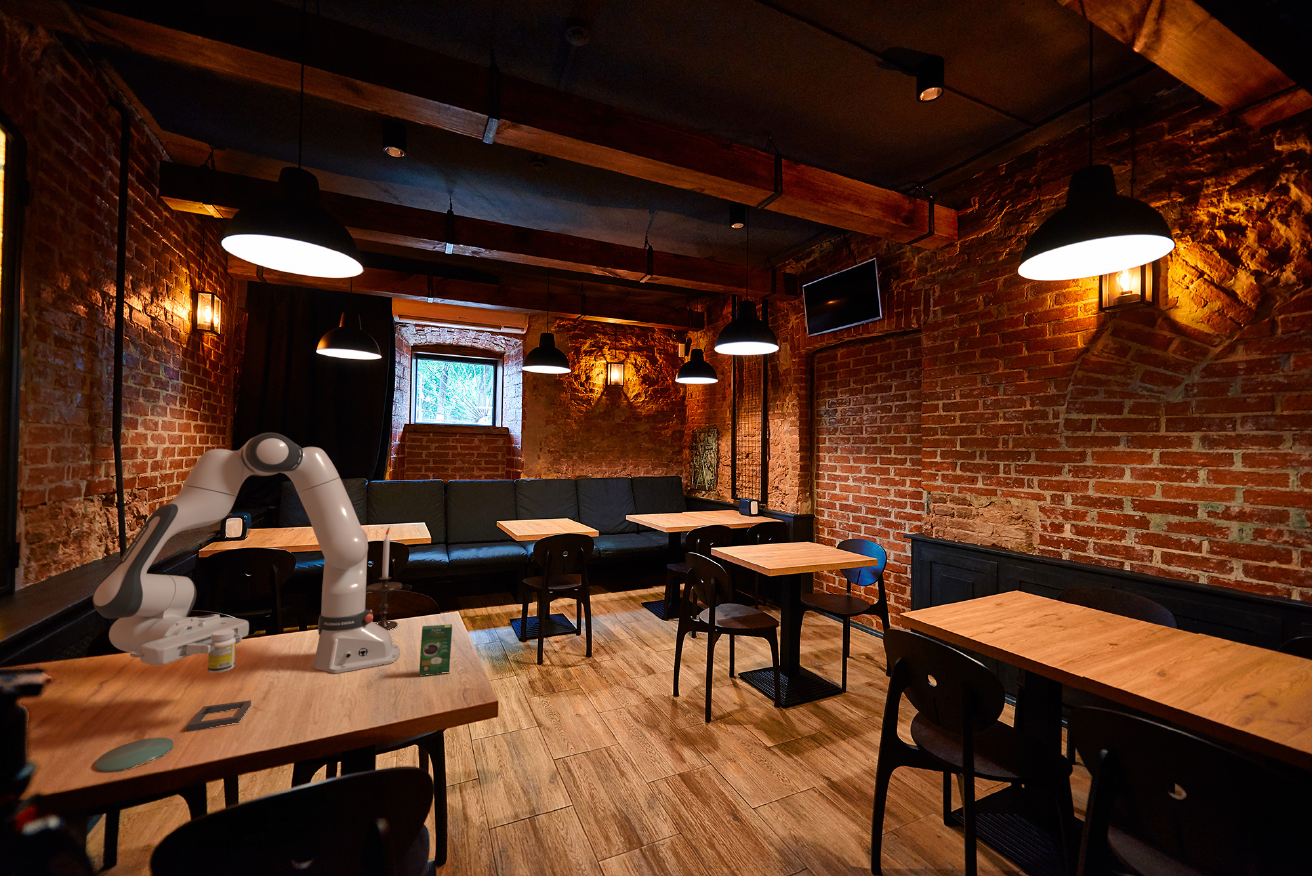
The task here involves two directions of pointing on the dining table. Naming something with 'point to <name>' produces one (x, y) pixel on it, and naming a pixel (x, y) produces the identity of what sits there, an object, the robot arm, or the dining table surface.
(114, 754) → the green coaster
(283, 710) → the dining table surface
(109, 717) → the dining table surface
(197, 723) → the square metal frame
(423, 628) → the coffee box
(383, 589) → the candlestick
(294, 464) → the robot arm
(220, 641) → the supplement bottle
